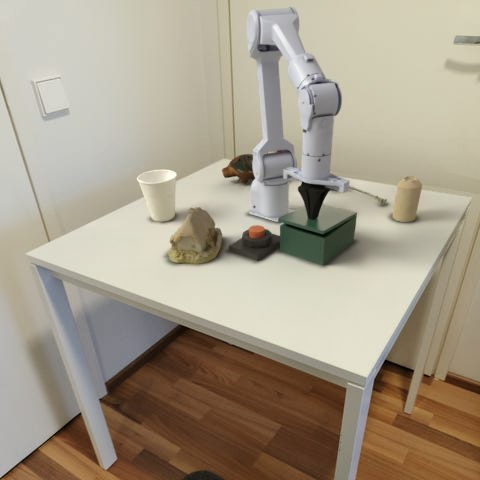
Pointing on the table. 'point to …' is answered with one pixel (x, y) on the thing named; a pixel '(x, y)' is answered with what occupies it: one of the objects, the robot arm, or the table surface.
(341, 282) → the table surface
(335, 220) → the lid
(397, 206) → the candle
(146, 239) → the table surface
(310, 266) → the table surface
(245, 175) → the decorative turtle
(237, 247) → the switch block
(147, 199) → the cup
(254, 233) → the button
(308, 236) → the box
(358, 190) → the soupspoon
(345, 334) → the table surface
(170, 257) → the ceramic model
